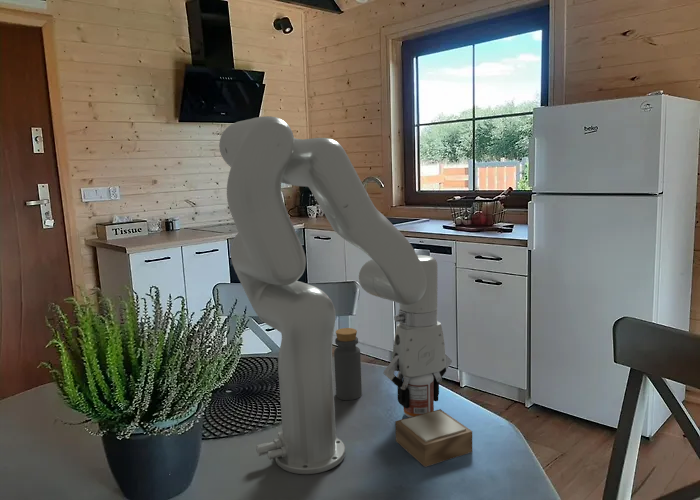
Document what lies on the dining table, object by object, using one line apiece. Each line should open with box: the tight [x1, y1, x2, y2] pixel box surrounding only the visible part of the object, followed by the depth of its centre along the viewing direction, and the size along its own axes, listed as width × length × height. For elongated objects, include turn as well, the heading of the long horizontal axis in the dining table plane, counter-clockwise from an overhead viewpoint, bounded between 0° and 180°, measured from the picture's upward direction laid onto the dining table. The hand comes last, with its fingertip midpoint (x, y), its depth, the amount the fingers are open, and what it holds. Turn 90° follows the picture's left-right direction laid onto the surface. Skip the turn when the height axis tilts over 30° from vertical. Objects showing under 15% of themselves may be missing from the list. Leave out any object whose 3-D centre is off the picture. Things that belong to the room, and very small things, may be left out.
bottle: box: [333, 327, 363, 401], centre depth 123 cm, size 6×6×15 cm
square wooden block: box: [394, 408, 473, 468], centre depth 101 cm, size 10×10×4 cm
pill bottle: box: [403, 373, 435, 418], centre depth 113 cm, size 6×6×11 cm
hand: (418, 401), depth 113 cm, fingers closed on pill bottle, 6 cm apart
